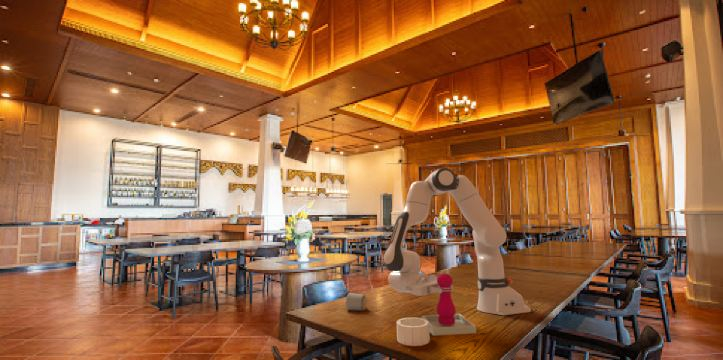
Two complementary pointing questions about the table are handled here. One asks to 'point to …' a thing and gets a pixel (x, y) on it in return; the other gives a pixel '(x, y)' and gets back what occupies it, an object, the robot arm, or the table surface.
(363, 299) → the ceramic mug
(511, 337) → the table surface
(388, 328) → the table surface
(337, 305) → the table surface
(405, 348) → the table surface
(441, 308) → the pepper mill
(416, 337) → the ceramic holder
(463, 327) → the sage tray
